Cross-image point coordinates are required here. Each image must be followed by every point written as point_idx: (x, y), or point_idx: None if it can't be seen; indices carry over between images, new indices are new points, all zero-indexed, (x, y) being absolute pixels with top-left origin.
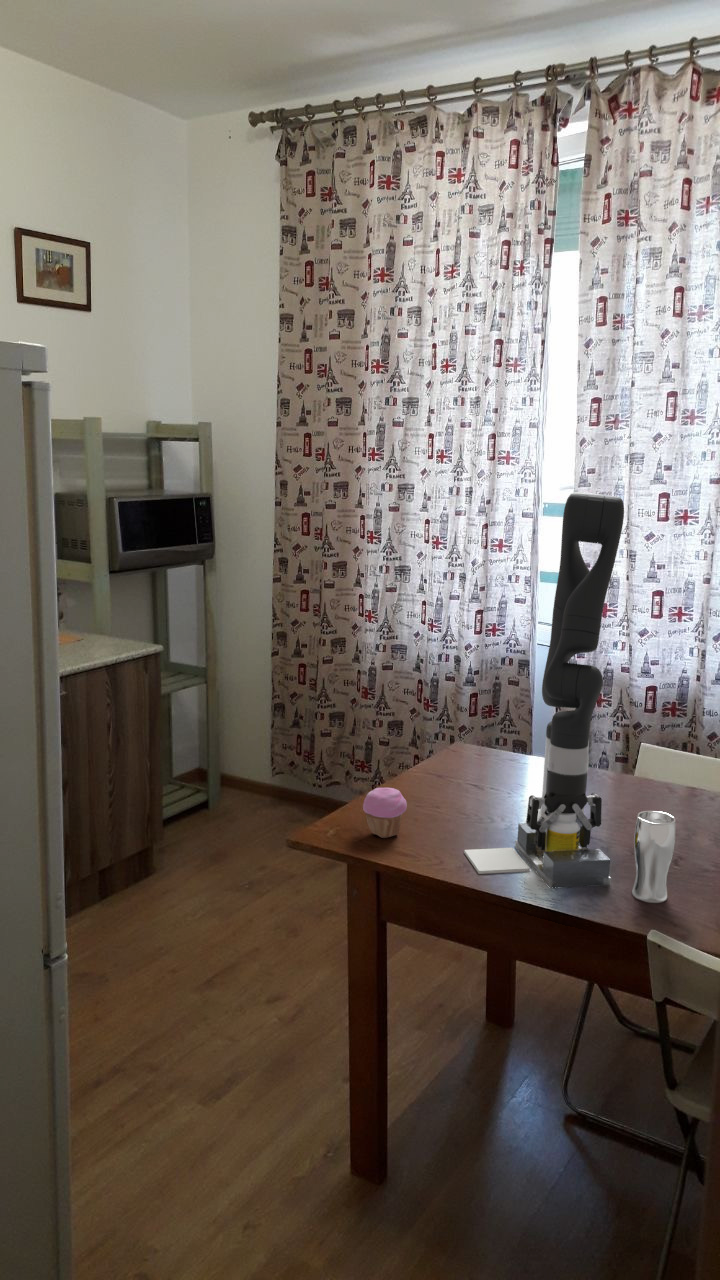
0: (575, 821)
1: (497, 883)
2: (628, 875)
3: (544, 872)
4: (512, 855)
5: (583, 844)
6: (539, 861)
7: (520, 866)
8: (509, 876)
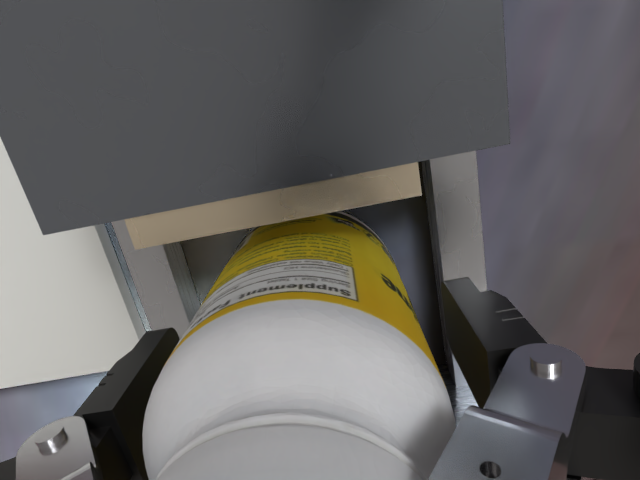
0: (433, 465)
1: None
2: (616, 365)
3: None
4: None
5: (454, 355)
6: None
7: (102, 348)
8: (66, 404)
